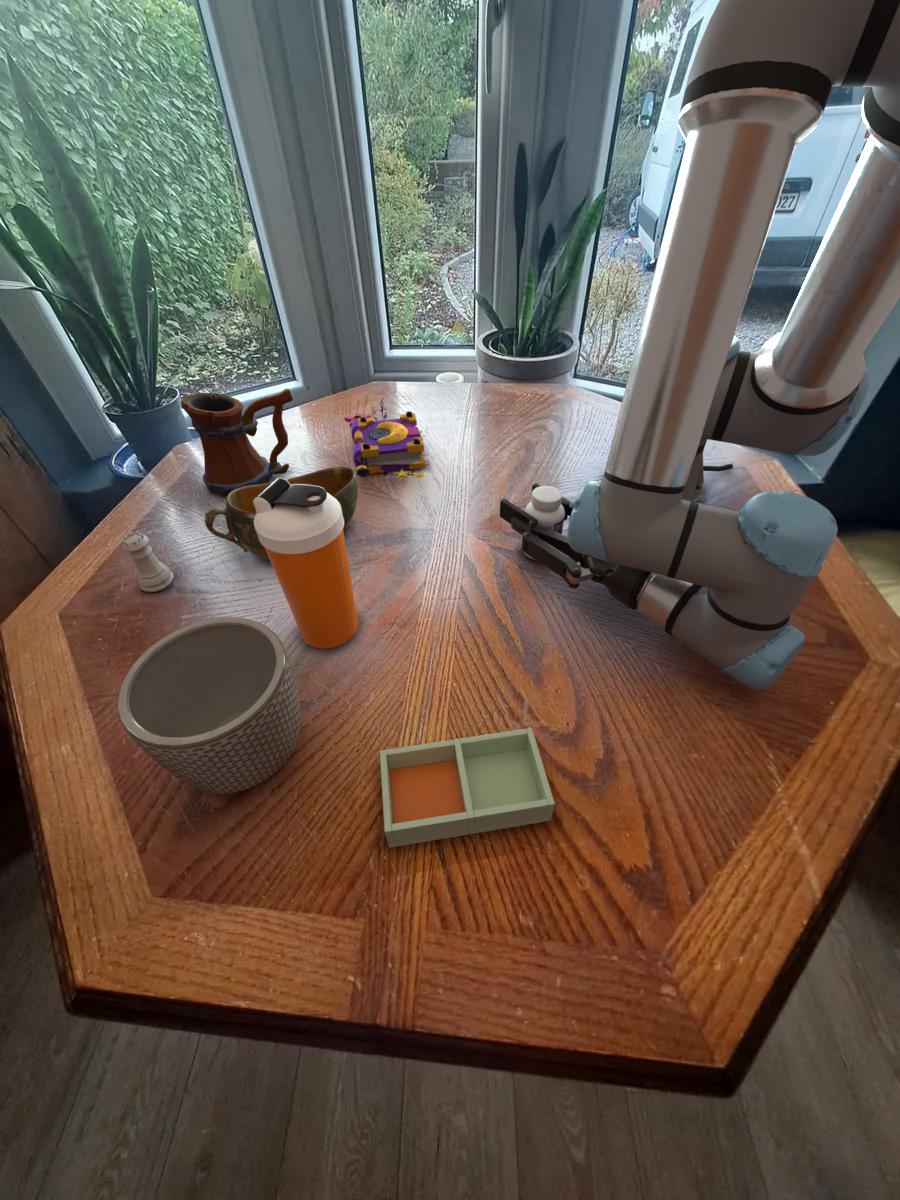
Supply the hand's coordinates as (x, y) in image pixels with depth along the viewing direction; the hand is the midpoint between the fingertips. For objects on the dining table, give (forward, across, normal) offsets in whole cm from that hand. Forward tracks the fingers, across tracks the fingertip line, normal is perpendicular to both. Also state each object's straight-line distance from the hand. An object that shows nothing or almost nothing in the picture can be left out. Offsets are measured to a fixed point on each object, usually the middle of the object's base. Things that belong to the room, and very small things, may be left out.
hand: (518, 499), depth 74 cm
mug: (+41, -24, -6) cm, 48 cm away
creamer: (+20, -26, -6) cm, 33 cm away
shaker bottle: (+1, -31, -6) cm, 32 cm away
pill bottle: (-5, 0, -6) cm, 8 cm away
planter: (-10, -46, -6) cm, 47 cm away
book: (+33, -2, -6) cm, 34 cm away
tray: (-27, -31, -6) cm, 42 cm away
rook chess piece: (+24, -46, -6) cm, 52 cm away
